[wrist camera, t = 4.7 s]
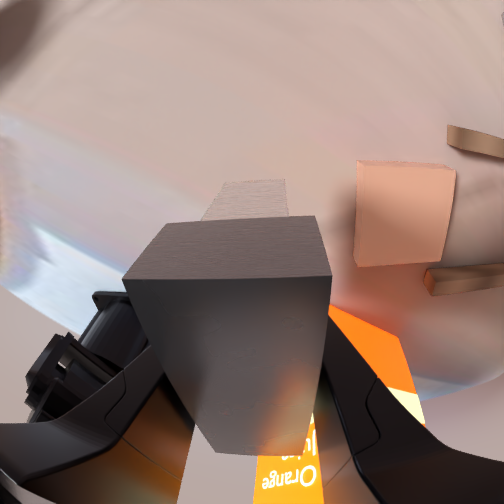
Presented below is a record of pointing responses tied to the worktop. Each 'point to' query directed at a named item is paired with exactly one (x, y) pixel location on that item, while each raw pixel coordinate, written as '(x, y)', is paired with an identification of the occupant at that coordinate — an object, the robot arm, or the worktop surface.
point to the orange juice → (307, 466)
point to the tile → (401, 212)
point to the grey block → (239, 317)
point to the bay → (477, 275)
